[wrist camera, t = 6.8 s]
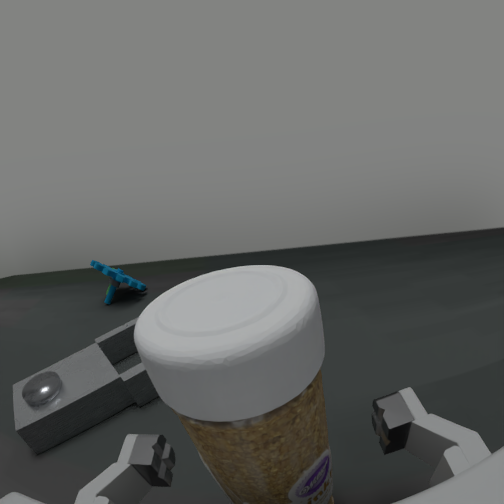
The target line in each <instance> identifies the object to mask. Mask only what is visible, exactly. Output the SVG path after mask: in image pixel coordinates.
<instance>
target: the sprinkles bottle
mask: <svg viewBox="0 0 504 504" xmlns="http://www.w3.org/2000/svg"><path fill="white" fill-rule="evenodd" d="M134 342H135V345H136V348H137V350H138V353H139V356H140V358H141V360H142V362H143V365H144V367H145V369H146V371H147V373H148V375H149V377H150V379H151V381H152V383H153V385H154V387H155V389H156V391H157V393H158V394H159V396H160V398H161V399H162V400H163V401H164V402H165V403H166V404H167V405H168V406H170V407H171V409H172V410H173V412H174V413H175V414H177V415H178V417H179V418H180V420H181V422H182V424H183V425H184V427H185V429H186V430H187V432H188V434H189V435H190V437H191V439H192V441H193V443H194V444H195V446H196V448H197V450H198V452H199V455H200V458H201V460H202V462H203V463H204V465H205V466H206V468H207V469H208V471H209V472H210V474H211V475H212V477H213V478H214V479H215V481H216V482H217V484H218V485H219V486H220V488H221V489H222V490H223V492H224V493H225V494H226V496H227V497H228V498H229V500H230V501H231V502H232V503H233V504H334V499H333V496H332V489H333V477H332V460H331V452H330V447H329V444H328V429H327V422H326V413H325V401H324V395H323V387H322V375H321V370H320V368H321V365H322V362H323V359H324V354H325V343H324V333H323V325H322V318H321V312H320V306H319V300H318V295H317V292H316V289H315V287H314V286H313V284H312V283H311V282H310V281H309V279H307V278H306V277H305V276H303V275H302V274H300V273H298V272H297V271H294V270H291V269H288V268H284V267H278V266H269V265H252V266H241V267H234V268H228V269H224V270H219V271H214V272H211V273H208V274H204V275H201V276H198V277H196V278H193V279H191V280H188V281H185V282H183V283H181V284H179V285H177V286H175V287H173V288H172V289H170V290H168V291H166V292H165V293H163V294H161V295H160V296H159V297H157V298H156V299H155V300H154V301H153V302H151V303H150V304H149V305H148V306H147V307H146V308H145V309H144V311H143V312H142V313H141V315H140V316H139V318H138V320H137V322H136V325H135V329H134Z"/></svg>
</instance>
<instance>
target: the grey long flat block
mask: <svg viewBox="0 0 504 504" xmlns="http://www.w3.org/2000/svg"><path fill="white" fill-rule="evenodd" d="M138 318H139V317H138ZM138 318H136V319H134V320H132V321H130V322H128V323H126V324H124V325H122V326H120V327H118V328H116V329H114V330H112V331H110V332H108V333H106V334H104V335H102V336H100V337H98V338H97V339H95V341H96V343H95V344H93V345H91V346H89V347H87V348H85V349H83V350H81V351H79V352H77V353H75V354H73V355H71V356H69V357H67V358H65V359H63V360H61V361H59V362H57V363H55V364H53V365H51V366H50V367H48V368H46V369H44V370H42V371H40V372H38V373H36V374H34V375H32V376H30V377H28V378H26V379H24V380H22V381H20V382H18V383H16V384H14V385H13V402H14V417H15V428H16V432H17V433H18V434H19V435H20V436H21V438H22V439H23V440H24V441H25V442H26V443H27V445H28V446H29V447H30V448H31V449H32V450H33V451H34V452H35V453H36V454H39V453H42V452H44V451H46V450H48V449H50V448H52V447H54V446H56V445H58V444H60V443H62V442H64V441H66V440H68V439H70V438H72V437H74V436H76V435H77V434H79V433H81V432H83V431H85V430H87V429H89V428H91V427H93V426H94V425H96V424H98V423H100V422H102V421H104V420H105V419H107V418H109V417H111V416H113V415H114V414H116V413H118V412H120V411H121V410H123V409H125V408H127V407H128V406H130V405H132V404H134V403H135V402H136V404H137V405H138V406H139V407H141V406H143V405H145V404H147V403H148V402H150V401H152V400H153V399H155V398H157V397H158V396H159V394H158V393H157V391H156V389H155V387H154V385H153V383H152V381H151V379H150V377H149V375H148V373H147V371H146V369H145V367H144V365H143V362H142V363H140V364H138V365H136V366H135V367H133V368H131V369H129V370H127V371H126V372H124V373H122V374H120V375H119V374H118V373H117V371H116V370H115V369H114V367H113V366H112V365H113V364H115V363H117V362H119V361H120V360H122V359H124V358H126V357H128V356H130V355H131V354H133V353H135V352H137V351H138V350H137V348H136V345H135V342H134V329H135V325H136V322H137V320H138Z"/></svg>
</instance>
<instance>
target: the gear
mask: <svg viewBox="0 0 504 504" xmlns="http://www.w3.org/2000/svg"><path fill="white" fill-rule="evenodd" d="M90 265H91V266H93V267H94V268H95V269H97V270H99V271H102V273H104V274H105V275H107V276H111V277H110V278H109V283H110V285H109V287H108V290H107V292H106V294H107V296H106V299H105V303H107V304H110V303H111V300H112V298H113V295H114V293H115V290H116V288H119V286H120V283H121V282H122V283H123V282H125V283H127V284H129V286H131V287H134V288H138V289H140V290H143V291H144V290H145V287H146V285H145V284H142V283H141V282H140V281H138V280H135V279H133V278H132V277H130V276H128V275H125V274H124V273H123V270H121V269H119V268H118V270H116V269H114V268H110V267H109V266H107V265H104V264H103V265H102V264H101V263H99V262H97V261H94V260H92V262H91V264H90Z"/></svg>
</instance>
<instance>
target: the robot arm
mask: <svg viewBox="0 0 504 504" xmlns="http://www.w3.org/2000/svg"><path fill="white" fill-rule="evenodd" d="M372 406H373V408H374V411H373V412H372V424H373V428H374V431H375V433H376V435H378V436H380V441H379V443H380V446H381V448H382V450H383V453H384V455H386V454H389V453H392V452H395V451H398V450H401V449H403V448H405V450H407V451H409V452H410V453H412V454H413V455H415V456H416V457H418V458H419V459H421V460H423V461H424V462H426V463H427V464H429V465H431V466H432V467H434V468H435V469H436V470H435V472H434V474H433V476H432V478H431V479H430V481H429V484H430V486H431V488H429V489H427V490H424V491H422V492H420V493H417V494H415V495H413V496H410V497H408V498H405V499H403V500H400V501H397V502H395V503H392V504H504V446H503V447H502V448H501V449H499V450H498V451H496V452H495V453H493V454H491V453H490V451H489V450H488V448H487V447H486V445H485V444H484V442H483V441H482V439H481V437H480V436H479V434H478V433H477V432H475V431H472V430H470V429H467V428H465V427H462V426H460V425H457V424H455V423H452V422H450V421H448V420H445V419H443V418H441V417H438V416H436V415H434V414H429V415H428V414H427V412H426V411H425V409H424V407H423V406H422V404H421V403H420V401H419V399H418V398H417V396H416V395H415V393H414V391H413V390H412V388H410V387H409V388H406V389H403V390H400V391H398V392H394V393H391V394H389V395H386V396H383V397H380V398H377V399H374V400H373V405H372ZM174 466H175V453H174V450H173V448H172V447H171V446H170V445H168V444H166V438H165V437H164V436H163V435H144V434H128V435H127V436H126V438H125V441H124V444H123V447H122V450H121V453H120V455H119V458H118V461H117V463H113V464H112V465H111V466H110V467H108V468H107V469H106V470H105V471H104V472H102V473H101V474H100V475H99V476H97V477H96V478H95V479H94V480H92V481H91V482H90V483H89V484H87V485H86V486H85V487H84V488H82V489H81V490H80V491H79V493H78V496H77V499H76V501H75V504H138V503H139V502H140V501H141V500H142V499H143V498H144V496H145V495H146V494H147V493H148V492H149V491H150V489H151V488H152V486H158V487H171V482H172V477H173V474H172V472H171V471H170V470H171V469H172V468H173V467H174ZM0 504H45V503H42V502H40V501H37V500H34V499H32V498H30V497H27V496H25V495H23V494H20V493H17V492H12V493H10V494H7V495H6V496H4V497H3V498H1V499H0Z"/></svg>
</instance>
